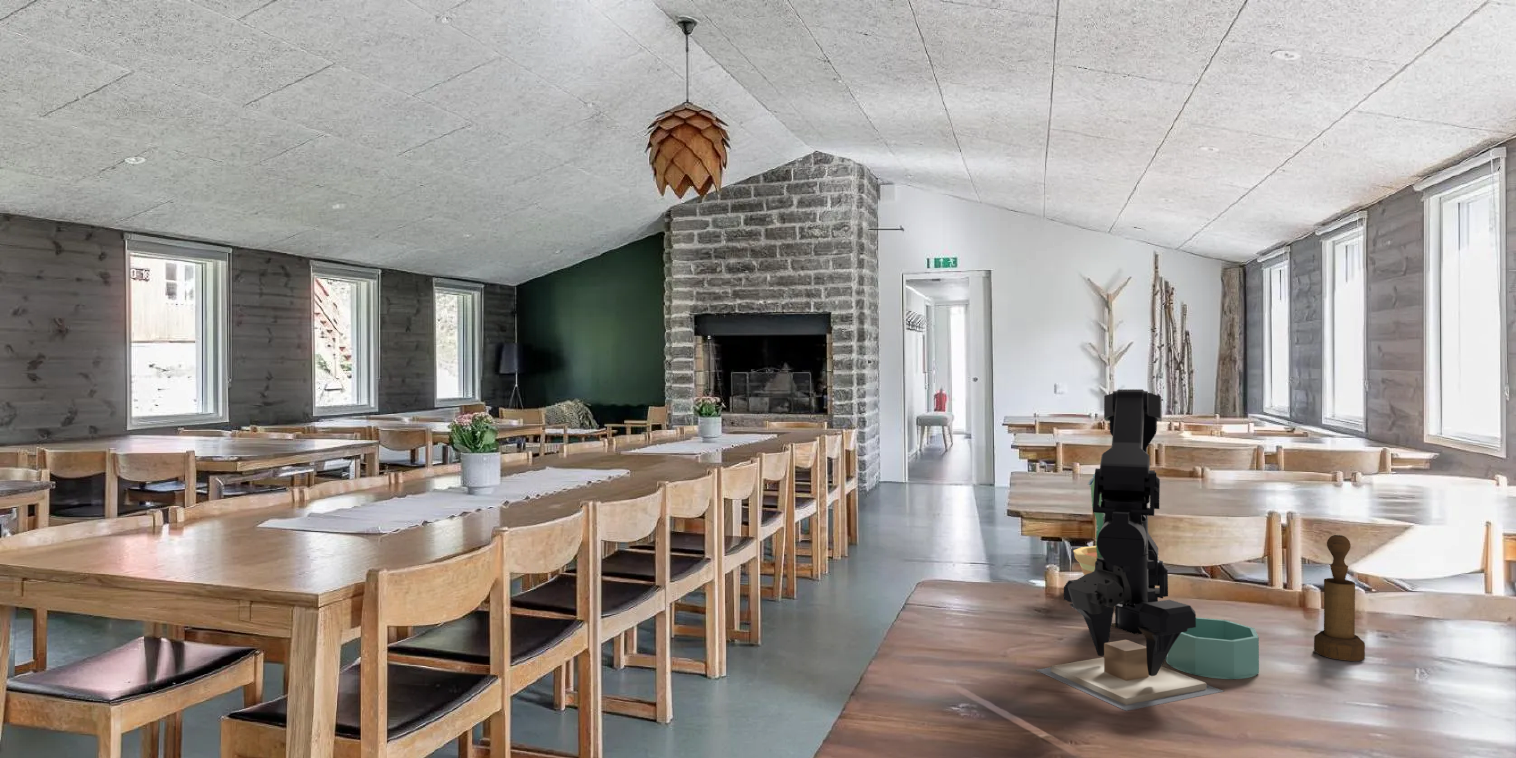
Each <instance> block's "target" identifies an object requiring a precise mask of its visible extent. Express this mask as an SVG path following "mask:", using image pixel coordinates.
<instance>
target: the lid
mask: <svg viewBox="0 0 1516 758" xmlns="http://www.w3.org/2000/svg"><path fill="white" fill-rule="evenodd" d="M1050 667H1051V672H1053V673H1055V674H1058V675H1060V676H1062V677H1064V678H1067V679H1069V680H1071V681H1073V682H1076V683H1078V684H1080V685H1082V686H1085V687H1087V688H1089V689H1091V690H1094V691H1096V692H1098V693H1100V694H1103V695H1105V696H1107V697H1109V698H1112V699H1114V700H1116V701H1118V702H1121V703H1123V704H1125V705H1128V704H1133V703H1138V702H1143V701H1148V700H1153V699H1158V698H1163V697H1169V696H1174V695H1179V694H1184V693H1189V692H1194V691H1199V690H1204V689H1206V684H1207V683H1206V682H1205V681H1202V680H1200V679H1197V678H1193V677H1190V676H1188V675H1185V674H1184V673H1180V672H1178V671H1175V670H1173V669H1169V668H1167V667H1165V666H1161V668H1160V669H1159V671H1158V673H1157V675H1155V676H1150V675H1149V674H1148V668H1147V652H1146V645H1143V644H1141V643H1136V642H1134V641H1131V640H1128V639H1121V640H1115V641H1110V642H1108V643H1104V656H1101V657H1097V658H1092V659H1086V660H1078V661H1074V662H1073V661H1072V662H1068V663H1061V664H1055V665H1051V666H1050Z"/></svg>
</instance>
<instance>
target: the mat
mask: <svg viewBox="0 0 1516 758" xmlns="http://www.w3.org/2000/svg"><path fill="white" fill-rule="evenodd" d="M1035 671H1036V672H1038V673H1040V674H1043V675H1046V676H1048V677H1050V678H1052V679H1053V680H1056V681H1059V682H1060V683H1063V684H1066V685H1067V686H1069V687H1071V688H1073V689H1076V690H1079V691H1080V692H1083V693H1085V694H1087V695H1090V696H1092V697H1094V698H1096V699H1099V700H1101V701H1103V702H1105V703H1107V704H1109V705H1111V706H1114V707H1116V708H1118V709H1120V710H1122V711H1125V712H1128V711H1133V710H1138V709H1143V708H1148V707H1152V706H1158V705H1163V704H1167V703H1173V702H1178V701H1184V700H1188V699H1193V698H1198V697H1203V696H1208V695H1209V696H1210V695H1213V694H1218V693H1223V692H1225V690H1222V689H1219V688H1217V687H1215V686H1212V685H1209V684H1207V683H1206V689H1204V690H1199V691H1194V692H1189V693H1184V694H1179V695H1174V696H1169V697H1163V698H1158V699H1153V700H1148V701H1143V702H1138V703H1133V704H1128V705H1125V704H1123V703H1121V702H1118V701H1116V700H1114V699H1112V698H1109V697H1107V696H1105V695H1103V694H1100V693H1098V692H1096V691H1094V690H1091V689H1089V688H1087V687H1085V686H1082V685H1080V684H1078V683H1076V682H1073V681H1071V680H1069V679H1067V678H1064V677H1062V676H1060V675H1058V674H1055V673H1053V672H1051V666H1049V667H1045V668H1044V667H1043V668H1040V669H1035Z"/></svg>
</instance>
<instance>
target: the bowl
mask: <svg viewBox="0 0 1516 758" xmlns="http://www.w3.org/2000/svg"><path fill="white" fill-rule="evenodd" d="M1259 641H1260V638H1259V635H1258V633H1257V631H1256V629H1255V627H1251V626H1248V625H1245V624H1241V623H1238V622H1234V621H1231V620H1228V619H1220V618H1219V619H1218V618H1205V617H1197V616H1196V627H1195V628H1189V629H1188V631H1187V632H1181V634H1180V635H1179V636H1178V638H1177V639H1176V641H1175V642H1174V644H1173V645H1172V647H1171V649H1170V651H1169V652H1168V654H1167V656H1166V658H1165V662H1166V664H1168V666H1170V667H1172V669H1173V668H1174V669H1176V670H1178V671H1181V672H1184V673H1187V674H1190V675H1194V676H1198V677H1204V678H1205V677H1206V678H1209V679H1211V678H1212V679H1219V680H1221V679H1223V680H1241V679H1242V680H1243V679H1249V678H1252V677H1255V676H1257V675H1258V674H1260V645H1259V643H1260V642H1259Z"/></svg>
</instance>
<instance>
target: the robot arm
mask: <svg viewBox="0 0 1516 758" xmlns="http://www.w3.org/2000/svg"><path fill="white" fill-rule="evenodd" d="M1162 412H1163V411H1162V396H1161V395H1159V394H1154V392H1148V390H1144V389H1141V388H1138V389H1135V388H1133V389H1127V388H1126V389H1119V388H1118V389H1117V390H1113V391H1112V393H1109V394H1105V395H1104V397H1103V418H1104V420H1105V422H1106V421H1107V422H1109V433H1110V435H1111V437H1112V439H1111V446H1110V448H1109V449H1108V450H1106V451H1105V452H1102V454H1101V457H1100V458H1101V459H1100V465H1099V468H1095V470H1094V474H1095V480H1094V498H1093V508H1092V512H1093V514H1094V513H1105V516H1104V517H1103V527H1102V528H1101V530H1100V532H1099V535H1098V538H1097V548H1098V551H1099V553H1100V555H1101V556H1102V558H1097V561H1096V562H1095V570H1094V572H1092V573H1089V574H1086V575H1084V574H1083V575H1082V576H1081V577H1079V578H1077V579H1071V580H1070V579H1069V580H1068V581H1067V582H1066V583H1065V584H1064V586H1063V601H1067V602H1069V605H1070V607H1071V608H1072V609H1074V610H1075V611H1076V612H1078V613H1079V614H1080V615H1081V616H1082V617H1083V619H1084V621H1085V623H1086V625H1087V628H1088V630H1089V634H1090V637H1091V640H1092V642H1093V645H1094V648H1095V650H1096V655H1098V656H1099V657H1104V643H1108V642H1109V640H1110V636H1111V629H1112V627H1113V628H1115V629H1119V630H1121V631H1124V632H1127V633H1131V634H1133V635H1143V636H1144V637H1145V646H1146V652H1147V668H1148V674H1149V675H1150V676H1155V675H1157V673H1158V671H1159V669H1160V668H1161V666H1162V665H1163V664H1164V661H1166V656H1167V654H1168V652H1169V651H1170V649H1171V647H1172V645H1173V644H1174V642H1175V641H1176V639H1177V638H1178V636H1179V635H1180V634H1181V632H1187V631H1188V629H1189V628H1195V627H1196V617H1197V614H1196V611H1195V609H1193V607H1192V606H1191V605H1189V604H1186V603H1182V602H1179V601H1174V600H1171V599H1165V600H1159V599H1164V598H1166V597H1169V572H1168V569H1167V568H1166V567H1165V564H1164V560H1158V556H1159V547H1158V545H1157V543H1156V542H1155V541H1154V539H1153V538H1152V536H1151V535H1150V533H1149V516H1150V517H1151V516H1152V517H1155V512H1156V511H1155V510H1160V503H1161V502H1160V500H1161V499H1160V497H1161V496H1160V495H1161V492H1160V491H1161V481H1160V480H1161V479H1160V478H1159V477H1158V476H1157V472H1156V470H1153V469H1151V468H1150V467H1151V466H1150V465H1151V464H1150V460H1151V459H1150V454H1148V447H1149V445H1150V443H1151V442H1152V441H1153V439H1154V437H1155V436H1156V435H1157V432H1158V431H1157V430H1158V422H1162V420H1163V419H1162V415H1163V413H1162ZM1100 494H1101V500H1102V501H1101V505H1099V499H1100ZM1113 617H1114V618H1115V619H1114V623H1113ZM1162 667H1163V666H1162Z"/></svg>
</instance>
